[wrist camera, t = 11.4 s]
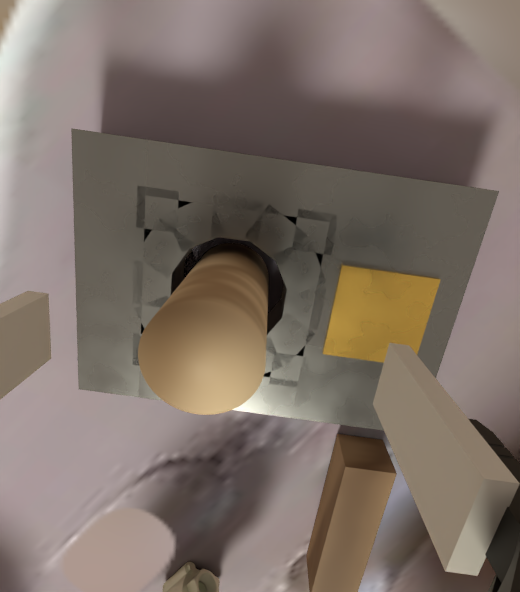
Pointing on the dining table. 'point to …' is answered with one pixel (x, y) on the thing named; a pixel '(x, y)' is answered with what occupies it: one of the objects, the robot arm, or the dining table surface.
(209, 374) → the peg
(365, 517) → the brown wooden bar
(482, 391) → the dining table surface
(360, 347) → the flange board
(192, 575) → the pneumatic valve
